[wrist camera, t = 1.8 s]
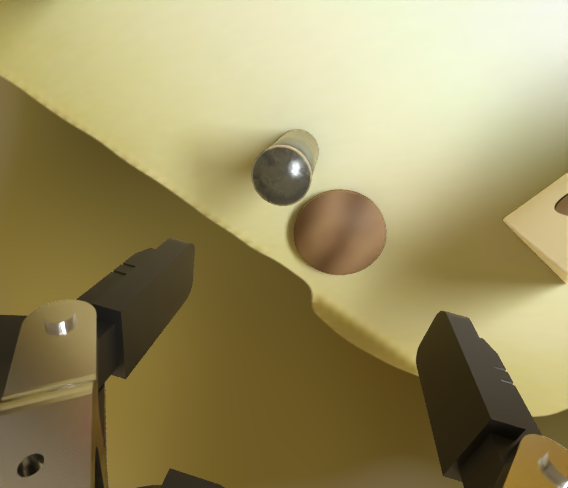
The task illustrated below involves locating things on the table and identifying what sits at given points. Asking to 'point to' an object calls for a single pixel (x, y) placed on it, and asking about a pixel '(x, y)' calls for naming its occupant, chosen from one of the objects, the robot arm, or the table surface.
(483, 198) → the table surface
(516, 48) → the table surface
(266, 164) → the grey can
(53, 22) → the table surface
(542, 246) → the gable box
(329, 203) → the disc
